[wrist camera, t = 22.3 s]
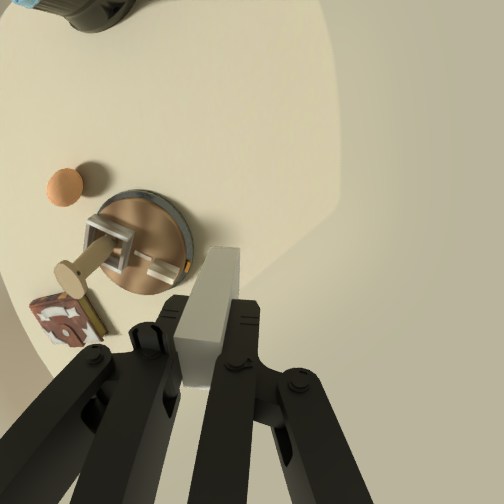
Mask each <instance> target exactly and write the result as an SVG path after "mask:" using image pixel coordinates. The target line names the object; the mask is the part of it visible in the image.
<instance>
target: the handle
mask: <svg viewBox="0 0 504 504" xmlns="http://www.w3.org/2000/svg"><path fill="white" fill-rule="evenodd" d="M116 246H117V243H116V237H115V236H112V235H110V234H106V235H105V236H103V237H101V238H99V239H97V240H96V241H94V242H93V243H92V244H91V245H90V246H89V247H88V248H87V249H86V250H85V251H84V252H83V253H82V254H81V255H80V256H79V257H78V258H77V259H76V260H75V262H74V263H71V262H69V261H67V260H63V261H61V262H60V263H58V264H57V265H56V266H55V268H54V274H55V277H56V279H57V281H58V283H59V284H60V286H61V287H62V288H63V290H64V291H65V292H66V293H67V294H69V295H70V296H71V297H73V298H74V299H80V298H82V297H83V296H84V294H85V293H86V292H87V289H88V287H87V283H86V280H85V279H86V278H87V277H88V276H89V275H90V274H91V273H92V272H93V271H94V270H96V269H97V268H98V267H99V266H100V265H101V264H102V263H103V262H104V261H105V260H106V259H107V258H108V257H109V256H110V254H111V253H112V251H113V250H114V249H115V248H116Z"/></svg>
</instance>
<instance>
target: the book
mask: <svg viewBox="0 0 504 504" xmlns="http://www.w3.org/2000/svg"><path fill="white" fill-rule="evenodd" d="M29 308H30V309H31V311H32V313H33V314H34V316H35V317H36V319H37V320H38V322H39V323H40V325H41V326H42V329H43V330H44V331H45V333H46V334H47V336H48V337H49V339H50V340H51V341H52V343H53V344H68V345H69V346H70V347H84V345H85V343H89V342H102V341H104V339H103V338H102V337H103V335H104V334H108V331H107V330H106V328H105V327H104V325H103V324H102V322H101V320H100V319H99V317H98V316H97V314H96V312H95V311H94V309H93V308H92V306H91V304H90V303H89V301H88V299H87V297H86V296H85V294H84V296H83V297H82V298H80V299H74V298H73V297H71V296H70V295H69V294H67V293H66V292H65V293H61V294H56V295H52V296H48V297H44V298H40V299H36V300H33V301H32V302H31V303H30V304H29Z"/></svg>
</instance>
